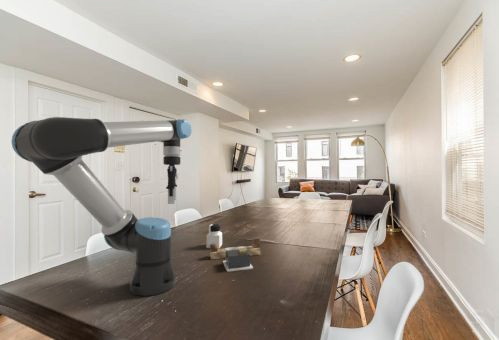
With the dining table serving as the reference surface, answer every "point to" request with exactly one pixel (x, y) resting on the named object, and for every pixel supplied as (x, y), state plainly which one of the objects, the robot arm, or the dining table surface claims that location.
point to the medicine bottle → (214, 235)
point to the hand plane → (221, 253)
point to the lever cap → (237, 258)
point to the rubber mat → (236, 268)
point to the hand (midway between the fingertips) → (172, 202)
